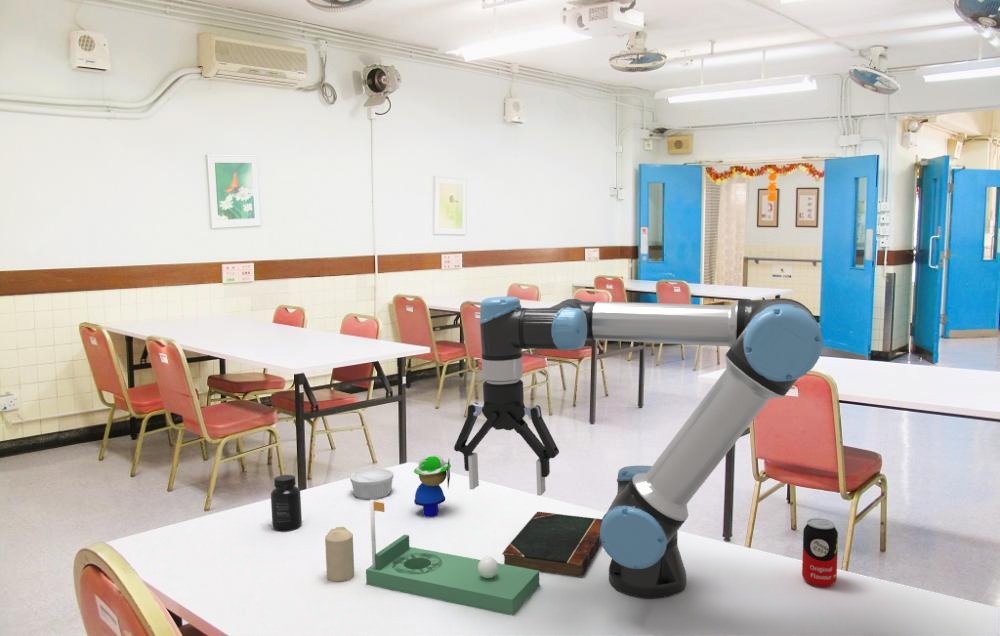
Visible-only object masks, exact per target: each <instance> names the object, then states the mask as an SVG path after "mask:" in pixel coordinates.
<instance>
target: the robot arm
mask: <svg viewBox="0 0 1000 636" xmlns="http://www.w3.org/2000/svg"><path fill="white" fill-rule="evenodd" d="M479 312H480V313H479V329H480V343H481V344H480V345H481V368H482V369H481V371H482V374H481V375H482V376H481V377H482V379H483V380H484V381H483V383H482V392H483V394H482V395H483V405H481V404H479V403H478V402H473V403H471V404H470V405H468V407H467V416H466V419H465V420H464V423H463V426H462V428H461V430H460V433H459V434H458V437H457V439H456V442H455V444H454V446H453V450H454V451H455V452H460V453H461V454H462V455H463V463H464V471H466V472H468V483H469V490H472V491H473V490H475V489H476V488H477V487H478V486H480V485H479V462H478V461H479V459H478V452H475V449H476V448H477V446H478V445H479V444H480V443H481V442H482V440H483V439H484V438H485V437H486V435H487V434H488V433H489V432H490V430H491V429H492V428H494V430H496V431H497V430H499V431H501V430H505V431H512V430H514V431H515V433H517V434H519V435H520V436H521V437H522V439H523V440H524V441H525V442H526V444H527V445H528V447H530V449H531V450H532V451H533V453H535V455H536V456H537V457H538V458H537V460H535V465H536V466H535V467H536V469H535V470H536V494H537V496H540V497H541V496H542V495H543V494H544V493H545V492H546V478H547V477H549V475H550V472H551V471H550V467H551V465H550V459H555V458H556V457H557V456H558V455H559V454H560V449H559V448H558V445H557V444H556V442H555V440H554V438H553V436H552V434H551V433H550V430H549V428H548V427H547V424H546V422H545V421H544V418H543V416H542V410H541V406H540V405H538V404H537V405H535V406H533V407H530V406H529V407H526V406H525V404H524V403H525V402H524V401H525V400H524V398H525V396H524V394H525V393H524V381H523V380H522V378H523V377H524V376H523V374H524V372H523V371H524V370H523V350H530V349H531V350H557V351H558V350H559V351H560V350H561V351H565V352H566V351H568V350H580V349H582V348H583V347H584V346H585V345H586V341H609V342H610V341H611V342H612V341H613V342H632V343H633V342H634V343H635V342H636V343H651V344H671V345H674V344H676V345H692V346H693V345H695V346H711V347H712V346H713V347H714V346H715V347H716V346H717V347H727V348H729V349H728V351H727V352H726V353H725V354H724V357H725V363H726V367H725V370H723V372H722V374H721V375H720V376H719V378H718V379H716V381H715V383H714V385H713V386H712V387H711V388H710V390H709V391H708V392H707V394H706V395H705V396H704V397H703V399H702V400H701V401H700V402H699V403H698V405H697V407H696V408H695V409H694V410H693V412H692V413H691V414H690V416H689V417H688V419H687V420H686V421H685V422H684V424H682V426H681V428H680V429H679V430H678V432H676V434H675V436H674V437H673V438H672V439H671V441H670V442H669V444H667V446H666V447H665V449H663V451H662V452H661V454H660V455H659V457H657V459H656V461H655V462H654V464H653V465H628V466H624V467H621V468H620V469H619V470H618V473H617V478H616V482H617V494H616V495H615V497H614V499H613V501H612V502H611V505H610V506H609V507H608V510H607V512H606V513H604V514H603V516H602V518H601V519H602V522H601V527H600V539H601V543H602V544H601V546H602V548H603V549H604V552H605V553H606V554H607V555H608V556H609V557H610V558H611V561H610V564H609V566H608V567H609V568H608V581H609V584H610V585H611V586H612V587H613V588H614V589H616V590H617V591H619V592H621V593H623V594H625V595H628V596H632V597H637V598H644V599H662V598H668V597H672V596H675V595H678V594H679V593H681V592H683V591H684V590H685V588H687V587H686V586H687V571H686V568H685V563H684V562H683V558H682V555H681V553H680V549H679V545H678V533H679V532H678V530H679V529H680V528H681V527H682V525H683V524H684V523H685V522H686V520H687V519H688V518H689V510H688V504H689V502H690V501H691V499H692V498H693V497H694V495H696V493H697V492H698V491H699V489H700V488H701V487H702V485H703V484H704V483H705V482H706V480H707V479H708V478H709V476H711V474H712V473H713V472H714V471H715V469H716V468H717V467H718V466H719V464H720V463H721V462H722V460H723V459H724V458H725V456H726V455H727V454H728V453H729V451H730V450H731V449H732V448H733V446H734V445H735V444H736V443H737V441H738V440H739V439H740V438H741V436H742V435H743V434H744V433H745V431H746V430H747V428H749V426H750V424H752V422H753V421H754V420H755V418H756V417H757V416H758V415H759V414H760V412H761V411H762V410H763V408H765V406H766V405H767V404H768V402H769V401H770V400H772V399H779V398H784V397H785V396H786V394H788V392H790V390H791V389H792V387H793V386H794V385H795V383H796V382H797V381H798V380H799V378H802V377H803V376H805V375H806V374H807V373H809V372H810V371H811V370H812V369H813V368H814V367H815V366H816V364H817V363H818V361H819V359H820V357H821V354H822V349H823V334H822V330H821V328H820V325H819V323H818V321H817V320H816V317H815V316H814V314H813V312H812V311H811V310H810V309H809V308H808V307H807V306H806V305H804V304H803V303H801V302H799V301H797V300H794V299H792V298H791V299H790V298H785V297H781V298H779V297H778V298H768V299H767V298H766V299H751V300H750V299H749V300H747V299H745V300H743V299H741V300H740V299H739V300H738V299H737V300H735V301H734V302H733V303H732V304H729V305H725V304H697V303H695V304H693V303H665V302H664V303H660V302H659V303H657V302H632V301H631V302H630V301H629V302H628V301H625V302H624V301H623V302H622V301H589V300H582V299H579V298H568V299H567V298H566V300H562V301H560V302H559V303H558V304H555V305H553V306H551V307H538V308H534V307H533V308H529V307H522V305H521V300H520V299H519V298H518V297H517V296H492V297H491V296H490V297H487V298H485V299H482V301H481V302H480V309H479ZM481 413H482V414H483V416H484V417H485V418H486V421H485V422H484V423H483V424H482V425H481V427H480V429H478V431H477V432H476V434H475V435H474V436H473V437H472V439H471V440H470V441H469V442H468V440H469V437H470V435H471V432H472V430H473V428H474V426H475V423H476V422H477V419H478V416H480V415H481ZM526 415H527V416H528V418H529V419H530V420H531V422H532V424H533V427H534V429H535V431H536V432H537V435H538V436H539V438H540V439H539V438H538V437H537V435H536V434H535V433H534V432H533V431H532V430H531V428H530V427H529V425H528V423H527V422H526V420H524V417H525V416H526ZM467 442H468V444H467Z"/></svg>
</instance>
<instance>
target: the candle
mask: <svg viewBox="0 0 1000 636" xmlns="http://www.w3.org/2000/svg"><path fill="white" fill-rule="evenodd" d="M353 535H354V534H353V533H352V532H351V531H350V530H349V529H347V528H346V527H345V526H336V527H335V528H331V529H330V530H329V532H328V533H327V534H326V535H325V537H324V540H325V541H324V543H325V544H324V545H325V560H326V561H325V564H326V578H327V579H328V581H331V582H337V583H339V582H345V581H349V580H351V579H352V578H353V577H354V575H355V559H354V556H355V555H354V538H353Z"/></svg>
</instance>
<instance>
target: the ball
mask: <svg viewBox="0 0 1000 636" xmlns="http://www.w3.org/2000/svg"><path fill="white" fill-rule="evenodd" d="M479 560H480V562H479V564H478V571H479V573H480V575H481V576H482V577H484V578H492V577H494V576H495V575H496V574H497V572H498V563H499V562H498V561H497V560H496V558H494V557H491V556H485V557H483V558H481V559H479Z"/></svg>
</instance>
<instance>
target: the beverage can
mask: <svg viewBox="0 0 1000 636" xmlns="http://www.w3.org/2000/svg"><path fill="white" fill-rule="evenodd" d="M802 535H803V537H802V563H801V565H802V566H801V570H802V571H801V575H802V578H803V579H804V580H805V582H806V583H808V584H809V585H811V586H814V587H820V588H827V587H830V586H833V584H835V583H836V582H837V578H838V577H837V574H838V555H839V554H838V552H839V551H838V549H839V547H838V546H839V532H838V530H837V528H836V523H835V522H833V521H832V520H829V519H826V518H825V519H824V518H819V517H817V518H815V517H814V518H809V519H807V521H806V525H805V526H804V528H803V534H802Z"/></svg>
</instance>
